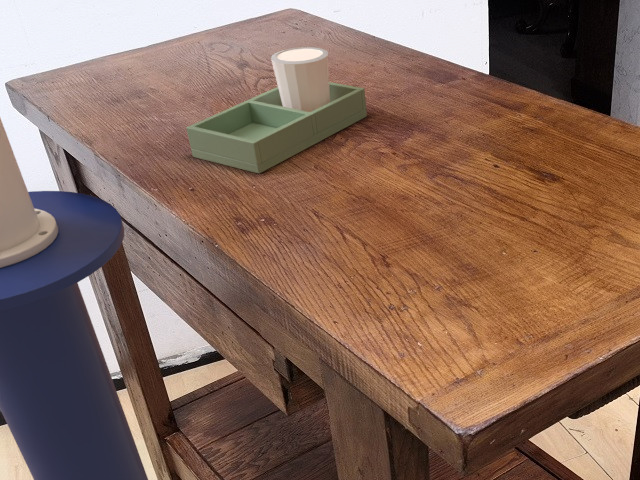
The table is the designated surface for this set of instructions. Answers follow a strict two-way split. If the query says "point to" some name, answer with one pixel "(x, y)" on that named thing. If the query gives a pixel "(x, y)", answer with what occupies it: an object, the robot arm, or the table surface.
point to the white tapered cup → (302, 77)
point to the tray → (272, 128)
